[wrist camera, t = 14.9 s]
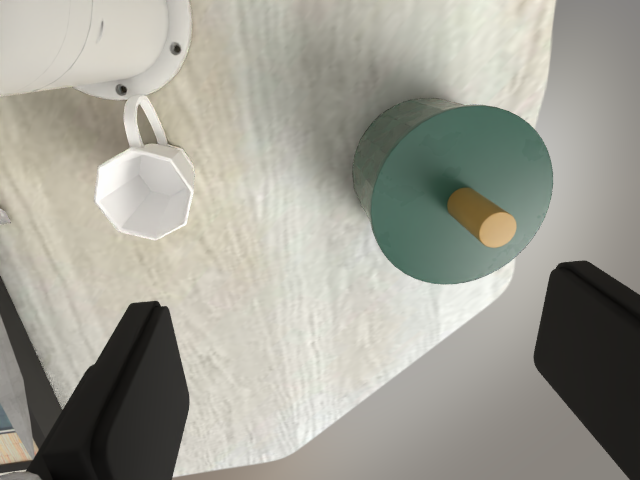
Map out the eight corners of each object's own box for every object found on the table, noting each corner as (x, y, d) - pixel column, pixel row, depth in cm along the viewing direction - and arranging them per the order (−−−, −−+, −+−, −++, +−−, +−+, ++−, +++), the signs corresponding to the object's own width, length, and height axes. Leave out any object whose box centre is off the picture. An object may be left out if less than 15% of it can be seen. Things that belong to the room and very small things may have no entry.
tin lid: (367, 110, 28) (391, 123, 22) (558, 97, 29) (631, 108, 23) (367, 284, 33) (387, 332, 28) (528, 269, 34) (580, 312, 29)
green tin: (351, 102, 36) (375, 116, 28) (489, 94, 37) (555, 105, 28) (353, 234, 41) (374, 281, 33) (475, 224, 42) (526, 267, 34)
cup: (139, 208, 38) (107, 246, 31) (106, 94, 34) (61, 107, 27) (215, 200, 39) (202, 235, 31) (193, 86, 34) (172, 97, 27)
